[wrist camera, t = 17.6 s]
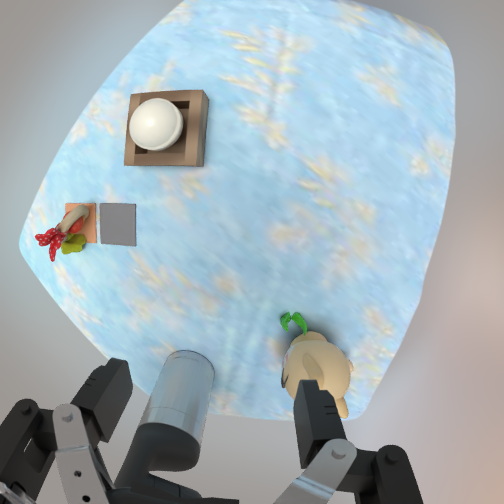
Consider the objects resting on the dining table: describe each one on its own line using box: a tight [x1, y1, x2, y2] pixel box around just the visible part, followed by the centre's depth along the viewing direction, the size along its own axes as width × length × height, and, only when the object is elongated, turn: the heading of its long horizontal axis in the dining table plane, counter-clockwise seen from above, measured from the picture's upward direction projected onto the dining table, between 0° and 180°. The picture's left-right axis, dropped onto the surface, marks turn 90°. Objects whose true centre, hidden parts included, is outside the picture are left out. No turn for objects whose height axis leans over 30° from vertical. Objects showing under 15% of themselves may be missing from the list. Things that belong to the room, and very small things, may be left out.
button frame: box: [124, 90, 209, 167], centre depth 34 cm, size 10×10×5 cm
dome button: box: [129, 98, 183, 151], centre depth 30 cm, size 6×6×7 cm
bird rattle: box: [35, 204, 89, 262], centre depth 35 cm, size 6×11×9 cm
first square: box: [100, 203, 136, 246], centre depth 40 cm, size 6×6×1 cm
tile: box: [65, 203, 97, 243], centre depth 40 cm, size 6×6×1 cm
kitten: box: [281, 312, 354, 419], centre depth 38 cm, size 15×10×15 cm
